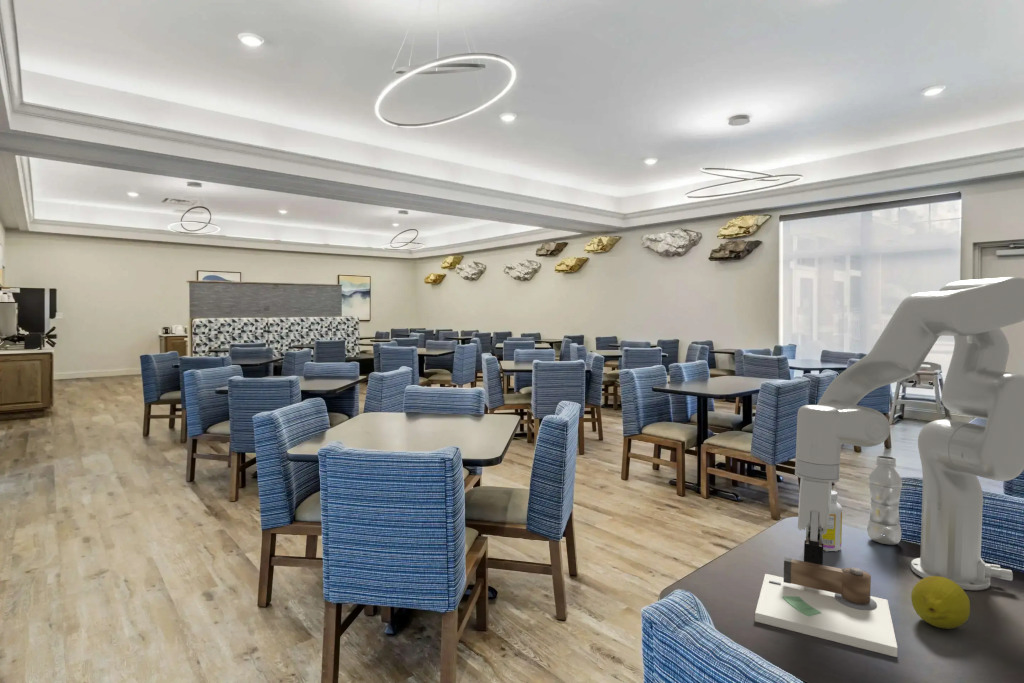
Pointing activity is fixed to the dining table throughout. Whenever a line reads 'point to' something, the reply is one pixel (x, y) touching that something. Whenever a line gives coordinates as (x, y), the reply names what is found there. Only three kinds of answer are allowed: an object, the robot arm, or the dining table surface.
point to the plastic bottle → (885, 502)
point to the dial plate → (826, 615)
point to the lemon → (940, 602)
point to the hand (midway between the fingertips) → (813, 563)
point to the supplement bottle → (833, 526)
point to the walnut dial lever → (830, 579)
